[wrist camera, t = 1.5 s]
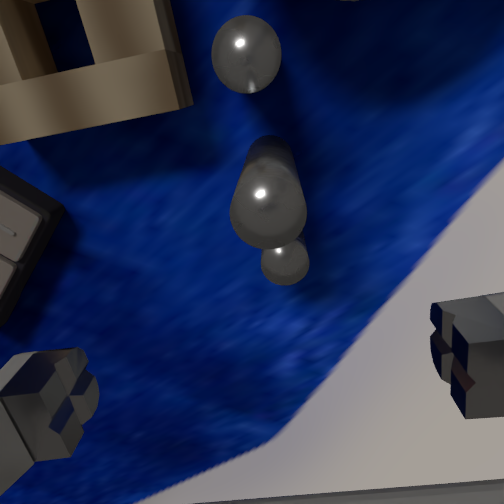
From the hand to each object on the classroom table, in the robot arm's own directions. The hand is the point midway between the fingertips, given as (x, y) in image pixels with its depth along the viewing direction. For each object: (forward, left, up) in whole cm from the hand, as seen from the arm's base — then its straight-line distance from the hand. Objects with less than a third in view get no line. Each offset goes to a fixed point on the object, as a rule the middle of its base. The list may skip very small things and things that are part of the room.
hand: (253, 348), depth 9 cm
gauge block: (+12, -11, -24) cm, 29 cm away
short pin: (0, +7, -24) cm, 25 cm away
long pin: (0, 0, -24) cm, 24 cm away
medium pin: (0, -7, -24) cm, 25 cm away
